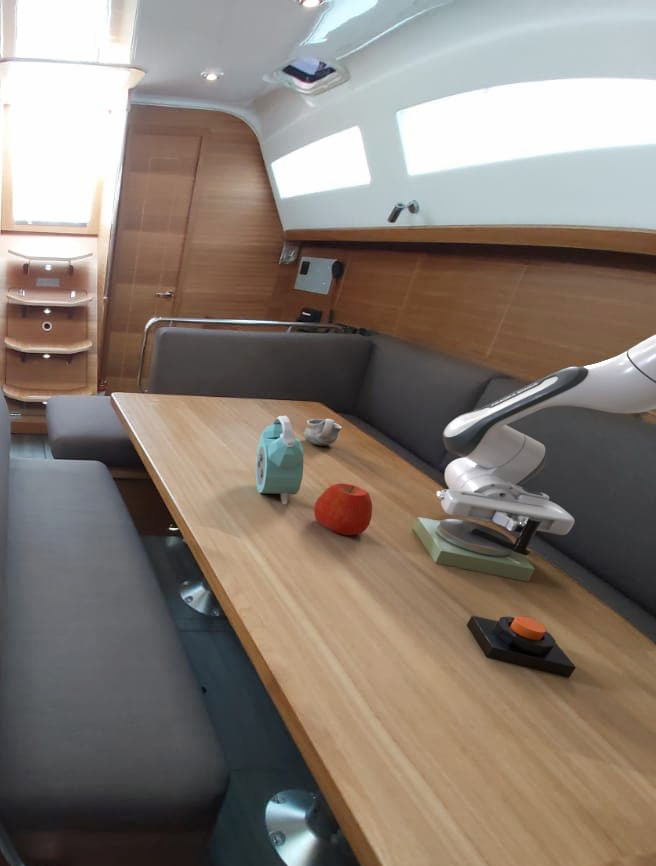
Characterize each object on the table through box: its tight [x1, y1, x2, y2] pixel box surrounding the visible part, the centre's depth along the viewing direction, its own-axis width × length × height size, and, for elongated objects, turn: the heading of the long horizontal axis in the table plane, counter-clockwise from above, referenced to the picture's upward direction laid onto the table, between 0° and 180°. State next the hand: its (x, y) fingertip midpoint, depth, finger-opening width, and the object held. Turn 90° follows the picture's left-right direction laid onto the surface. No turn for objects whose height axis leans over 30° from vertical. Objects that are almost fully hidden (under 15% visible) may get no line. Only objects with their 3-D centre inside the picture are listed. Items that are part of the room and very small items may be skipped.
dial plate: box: [412, 516, 536, 583], centre depth 104 cm, size 15×15×3 cm
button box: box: [466, 615, 577, 679], centre depth 78 cm, size 10×8×4 cm
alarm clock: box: [255, 415, 305, 505], centre depth 123 cm, size 17×10×20 cm, turn 165°
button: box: [510, 615, 547, 641], centre depth 77 cm, size 4×4×2 cm
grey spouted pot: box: [303, 418, 342, 447], centre depth 158 cm, size 10×12×10 cm
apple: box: [313, 482, 373, 536], centre depth 110 cm, size 11×11×11 cm
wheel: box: [437, 517, 542, 556], centre depth 100 cm, size 14×12×9 cm
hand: (521, 529), depth 96 cm, fingers closed
